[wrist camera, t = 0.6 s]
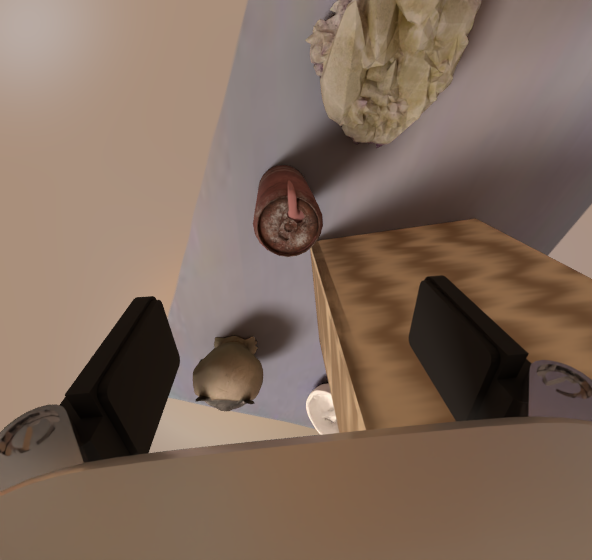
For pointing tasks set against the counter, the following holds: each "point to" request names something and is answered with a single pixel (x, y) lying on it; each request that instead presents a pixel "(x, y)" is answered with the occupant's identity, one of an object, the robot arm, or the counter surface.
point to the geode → (387, 61)
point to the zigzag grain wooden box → (401, 303)
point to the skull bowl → (322, 410)
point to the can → (286, 212)
